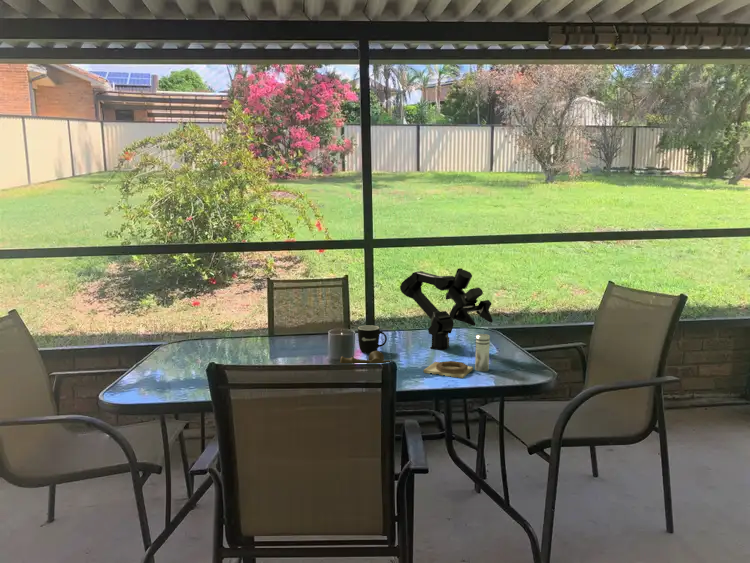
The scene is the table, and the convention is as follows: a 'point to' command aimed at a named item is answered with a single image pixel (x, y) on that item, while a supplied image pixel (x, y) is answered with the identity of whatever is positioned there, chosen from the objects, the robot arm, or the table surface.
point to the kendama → (373, 358)
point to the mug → (369, 338)
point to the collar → (449, 369)
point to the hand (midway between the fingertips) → (483, 323)
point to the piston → (482, 352)
